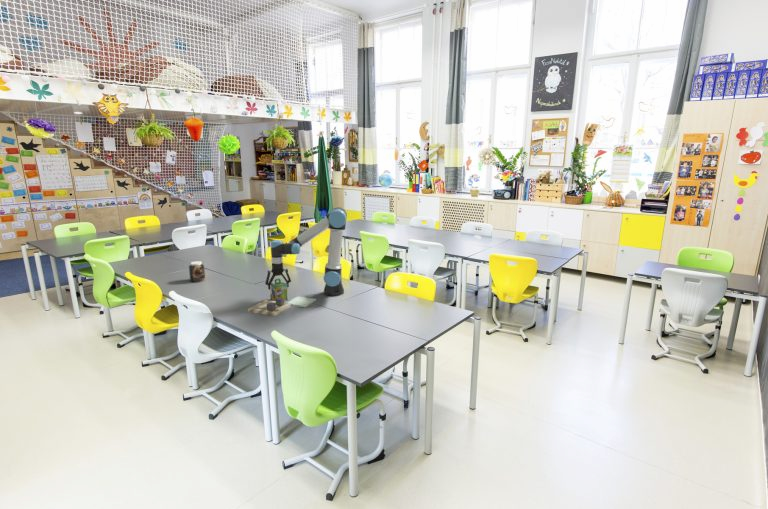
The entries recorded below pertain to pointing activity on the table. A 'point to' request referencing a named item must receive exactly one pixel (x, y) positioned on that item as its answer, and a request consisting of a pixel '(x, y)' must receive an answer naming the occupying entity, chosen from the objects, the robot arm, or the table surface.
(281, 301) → the switch
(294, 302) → the mat
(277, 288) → the chalk box
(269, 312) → the switch panel
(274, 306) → the switch
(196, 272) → the jar
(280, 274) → the robot arm
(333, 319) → the table surface
